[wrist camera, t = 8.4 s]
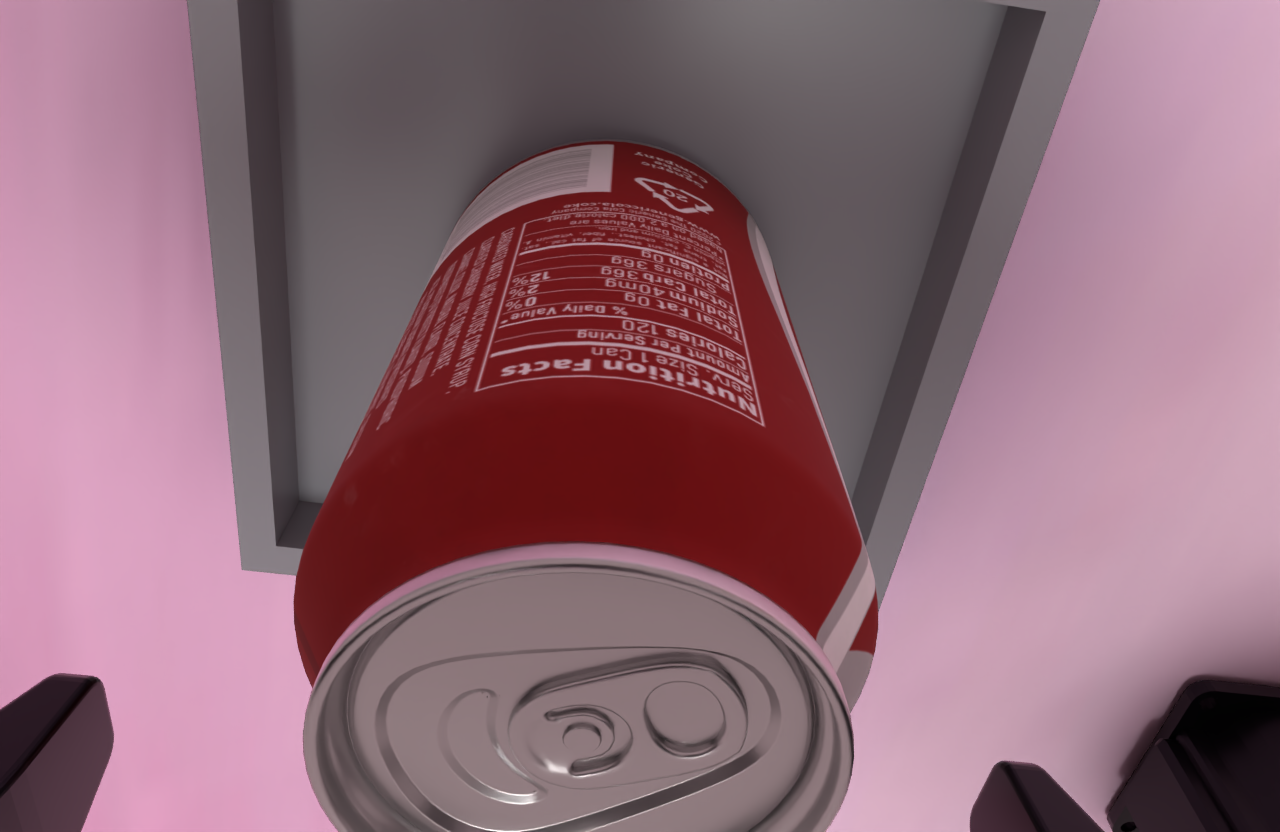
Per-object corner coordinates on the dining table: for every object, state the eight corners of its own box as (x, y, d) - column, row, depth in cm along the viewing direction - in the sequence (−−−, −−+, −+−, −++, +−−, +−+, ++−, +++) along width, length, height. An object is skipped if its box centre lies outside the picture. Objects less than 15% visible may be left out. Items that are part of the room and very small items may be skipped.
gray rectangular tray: (1053, -50, 17) (1112, -35, 15) (849, 566, 25) (869, 635, 23) (230, -184, 16) (169, -187, 14) (277, 503, 24) (241, 569, 21)
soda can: (393, 182, 19) (94, 599, 8) (729, 84, 18) (861, 418, 7) (511, 458, 22) (401, 1000, 12) (799, 388, 21) (954, 909, 11)
